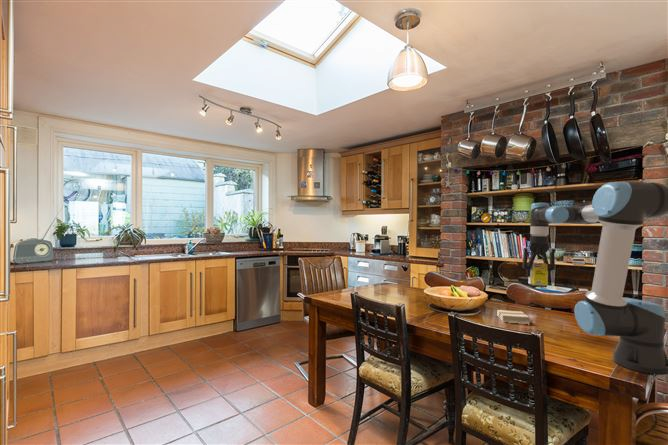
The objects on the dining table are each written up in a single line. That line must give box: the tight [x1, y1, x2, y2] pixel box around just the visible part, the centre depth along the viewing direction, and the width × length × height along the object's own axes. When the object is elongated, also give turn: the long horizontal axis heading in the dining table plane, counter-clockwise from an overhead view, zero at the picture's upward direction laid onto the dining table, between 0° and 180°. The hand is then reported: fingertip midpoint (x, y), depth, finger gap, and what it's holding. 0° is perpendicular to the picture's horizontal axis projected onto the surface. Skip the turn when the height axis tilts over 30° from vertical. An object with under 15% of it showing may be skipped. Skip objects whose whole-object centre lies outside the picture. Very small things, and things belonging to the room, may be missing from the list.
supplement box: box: [529, 262, 548, 288], centre depth 162 cm, size 6×6×11 cm
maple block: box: [496, 309, 531, 326], centre depth 175 cm, size 12×12×4 cm
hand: (537, 284), depth 162 cm, fingers closed on supplement box, 6 cm apart
